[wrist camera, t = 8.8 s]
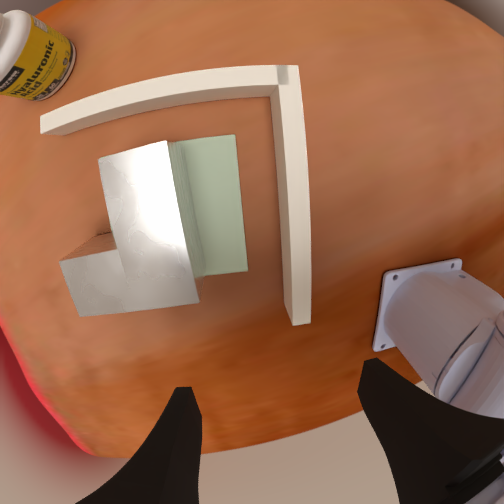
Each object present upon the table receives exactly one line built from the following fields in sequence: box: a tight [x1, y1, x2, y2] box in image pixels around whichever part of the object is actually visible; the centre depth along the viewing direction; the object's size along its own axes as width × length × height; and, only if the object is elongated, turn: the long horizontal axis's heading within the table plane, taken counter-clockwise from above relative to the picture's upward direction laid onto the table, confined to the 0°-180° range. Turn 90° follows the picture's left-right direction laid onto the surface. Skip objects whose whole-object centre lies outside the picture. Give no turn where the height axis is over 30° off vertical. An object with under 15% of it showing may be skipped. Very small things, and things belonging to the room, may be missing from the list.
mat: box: [100, 134, 248, 276], centre depth 17 cm, size 9×9×1 cm
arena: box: [40, 65, 311, 326], centre depth 16 cm, size 16×16×3 cm
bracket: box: [59, 140, 206, 317], centre depth 15 cm, size 8×8×5 cm
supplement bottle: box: [0, 10, 76, 101], centre depth 8 cm, size 5×5×10 cm
